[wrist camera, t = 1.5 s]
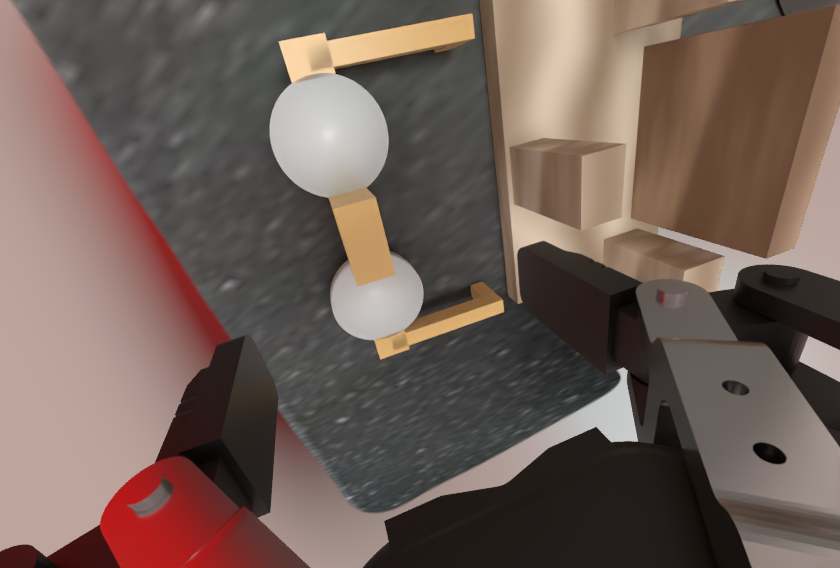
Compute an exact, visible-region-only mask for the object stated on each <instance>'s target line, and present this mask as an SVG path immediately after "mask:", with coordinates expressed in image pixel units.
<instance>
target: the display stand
mask: <svg viewBox="0 0 840 568" xmlns="http://www.w3.org/2000/svg"><path fill="white" fill-rule="evenodd" d="M742 1H745V0H479V4H480V14H481V24H482V35H483V45H484V55H485V65H486V76H487V86H488V96H489V106H490V116H491V127H492V137H493V147H494V157H495V168H496V178H497V188H498V198H499V208H500V219H501V229H502V239H503V249H504V260H505V270H506V280H507V290H508V296H509V297H510V298H511V299H513V300H514V301H515V302H516V303H517V304H520V303H522V300H521V296H520V288H519V275H518V261H517V253H518V250H519V249H520V248H522V247H525V246H528V245H531V244H534V243H537V242H540V241H546V242H548V243H550V244H552V245H554V246H556V247H558V248H560V249H563V250H565V251H569V252H574V253H579V254H582V255H584V256H587V257H589V258H591V259H593V260H594V261H595V262H599V263H602V264H604V265H606V267H610V268H612V269H614V270H616V271H619V272H621V273H623V274H625V275H627V276H629V277H631V278H634V279H636V280H638V281H640V282H642V283H644V282H647V281H651V280H657V279H675V280H682V281H686V282H690V283H693V284H696V285H698V286H700V287H702V288H704V289H705V290H706V291H707V292H715V291H717V289H718V284H719V280H720V275H721V271H722V266H723V261H724V256H722V255H719V254H716V253H713V252H710V251H707V250H703V249H700V248H697V247H694V246H691V245H687V244H685V243H681V242H678V241H675V240H672V239H669V238H666V237H663V236H660V235H657V232H658V227H661V228H665V229H668V230H671V231H675V232H679V233H682V234H685V235H688V236H692V237H695V238H698V239H702V240H706V241H709V242H712V243H715V244H719V245H722V246H725V247H729V248H732V249H736V250H739V251H742V252H746V253H749V254H753V255H756V256H759V257H762V258H769V257H772V256H775V255H777V254H780V253H782V252H785V251H788V250H790V249H793V248H795V246H796V242H797V239H798V236H799V233H800V230H801V226H802V223H803V220H804V217H805V214H806V210H807V207H808V204H809V201H810V197H811V194H812V191H813V188H814V185H815V181H816V178H817V175H818V172H819V169H820V165H821V162H822V159H823V156H824V152H825V149H826V146H827V143H828V140H829V137H830V133H831V130H832V127H833V123H834V120H835V117H836V114H837V110H838V108H839V104H840V4H837V5H832V6H827V7H823V8H818V9H814V10H809V11H804V12H800V13H795V14H791V15H786V16H781V17H777V18H772V19H768V20H763V21H758V22H754V23H749V24H745V25H740V26H735V27H731V28H726V29H722V30H717V31H712V32H708V33H703V34H699V35H694V36H689V37H685V38H680V35H681V26H682V18H683V17H686V16H690V15H694V14H697V13H701V12H705V11H708V10H712V9H716V8H719V7H723V6H727V5H730V4H734V3H738V2H742Z"/></svg>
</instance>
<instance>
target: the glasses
mask: <svg viewBox="0 0 840 568" xmlns="http://www.w3.org/2000/svg"><path fill="white" fill-rule="evenodd" d="M474 38H475V34H474V24H473V15H472V13H471V14H466V15H460V16H455V17H450V18H445V19H439V20H434V21H429V22H424V23H418V24H413V25H408V26H403V27H397V28H392V29H387V30H382V31H376V32H371V33H366V34H361V35H355V36H350V37H345V38H340V39H334V40H329V41H327V40H326V36H325V33H321V34H316V35H310V36H305V37H300V38H294V39H289V40H284V41H279V45H280V48H281V51H282V54H283V57H284V60H285V64H286V67H287V70H288V73H289V76H290V79H291V82H292V84H290V85H289V86H288V87H287V88H286V89H285V90H284V91H283V92H282V94H281V95H280V96H279V98H278V100H277V101H276V103H275V106H274V108H273V111H272V115H271V119H270V141H271V146H272V149H273V153H274V155H275V157H276V160H277V162H278V163H279V165H280V167H281V168H282V170H283V171H284V172H285V174H286V175H287V176H288V177H289V178H290V179H291V180H292V181H293V182H294V183H295V184H297V185H298V186H299V187H301V188H302V189H304V190H306V191H308V192H310V193H312V194H315V195H318V196H322V197H327V198H329V201H330V204H331V207H332V210H333V214H334V217H335V220H336V223H337V226H338V229H339V232H340V235H341V238H342V242H343V245H344V248H345V251H346V254H347V257H348V260H347V261H346V262H345V263H343V264H342V265H341V267H340V268H339V269H338V270H337V272H336V273H335V276H334V278H333V280H332V283H331V288H330V299H331V305H332V311H333V314H334V317H335V319H336V321H337V322H338V324H339V325H340V326H341V327H342V328H343V329H344V330H345V331H346V332H348V333H349V334H351V335H353V336H355V337H358V338H361V339H366V340H374V341H375V344H376V347H377V350H378V353H379V356H380V359H383V358H386V357H389V356H392V355H394V354H397V353H400V352H403V351H406V350H409V345H412V344H414V343H417V342H420V341H423V340H426V339H429V338H431V337H434V336H437V335H440V334H443V333H446V332H449V331H451V330H454V329H457V328H460V327H463V326H466V325H468V324H471V323H474V322H477V321H480V320H483V319H485V318H488V317H491V316H494V315H497V314H500V313H503V312H504V306H503V299H501V298H500V297H499V296H498V295H497V294H496V293H495V292H494V291H492V290H491V289H490V288H489V287H488V286H487V285H486V284H485V283H484V282H482V281H481V282H478V283H475V284H472V285H470V288H471V295H472V297H473V298H474V299H473V300H470V301H467V302H464V303H462V304H459V305H456V306H453V307H450V308H447V309H444V310H441V311H438V312H435V313H432V314H429V315H426V316H423V317H420V318H417V319H415V318H416V317H417V315H418V313H419V312H420V309H421V307H422V303H423V285H422V282H421V280H420V277H419V276H418V274H417V273H416V271H415V270H414V268H413V267H412V266H411V265H410V263H409V262H408V261H407V260H406V259H404V258H403V257H402V256H400V255H398V254H396V253H394V252H391V251H389V247H388V243H387V239H386V235H385V231H384V228H383V224H382V220H381V216H380V212H379V208H378V204H377V201H376V197H375V196H374V195H373V194H372V193H371V192H370V191H369V190H368V189H367V188H366V187H368V186H369V185H370V184H371V183H372V182H373V181H374V180H375V179H376V178H377V176H378V175H379V173H380V172H381V170H382V168H383V166H384V164H385V161H386V158H387V153H388V145H389V137H388V129H387V124H386V121H385V118H384V115H383V113H382V111H381V109H380V107H379V105H378V104H377V102H376V101H375V100H374V98H373V97H372V96H371V95H370V94H369V93H368V91H367V90H365V89H364V88H363V87H362V86H361V85H359V84H358V83H356V82H354V81H353V80H351V79H349V78H346V77H344V76H341V75H337V74H336V73H335V70H336V69H340V68H345V67H350V66H355V65H360V64H365V63H370V62H375V61H379V60H384V59H389V58H394V57H399V56H404V55H409V54H414V53H418V52H423V51H428V50H433V49H434V53H437V52H442V51H447V50H451V49H453V48H456V47H458V46H460V45H462V44H464V43H466V42H468V41H470V40H472V39H474Z"/></svg>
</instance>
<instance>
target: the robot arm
mask: <svg viewBox="0 0 840 568" xmlns="http://www.w3.org/2000/svg"><path fill="white" fill-rule="evenodd" d="M779 2H780V5H781V7H782V10H783V12H784V14H785V15H791V14H795V13H800V12H804V11H809V10H814V9H818V8H823V7H827V6H832V5H837V4H840V0H779ZM517 261H518V275H519V288H520V296H521V300H522V302H523V304H524V306H525V308H526V309H527V310H528V311H529V312H530V313H531V314H532V315H533V316H535V317H536V318H537V319H538V320H539V321H541V322H542V323H543V324H544V325H546V326H547V327H548V328H549V329H550V330H552V331H553V332H554V333H555V334H557V335H558V336H559V337H560V338H561V339H563V340H564V341H565V342H566V343H567V344H569V345H570V346H571V347H572V348H574V349H575V350H576V351H577V352H578V353H580V354H581V355H582V356H583V357H584V358H586V359H587V360H588V361H589V362H591V363H592V364H593V365H594V366H595V367H597V368H598V369H599V370H600V371H602V372H603V373H604V374H605V375H606V374H608V373H611V372H613V371H616V370H618V369H620V368H623V367H624V368H625V369H627V370H628V374H627V384H628V390H629V395H630V400H631V406H632V411H633V416H634V422H635V427H636V432H637V438H638V442H631V441H626V442H610V441H609V440H608V439H607V438H606V437H605V436H604V435H603V434H602V433H601V432H600V431H599V429H598V428H597V427H595V428H593V429H591V430H588V431H586V432H584V433H582V434H579V435H577V436H575V437H573V438H570V439H568V440H566V441H564V442H561V443H559V444H557V445H555V446H552V447H550V448H548V449H547V450H546V451H545V452H544V453H542V454H541V455H540V456H539V457H538V458H536V459H535V460H534V461H533V462H532V463H531V464H530V465H528V466H527V467H526V468H525V469H524V470H522V471H521V472H520V473H519V474H518V475H517V476H515V477H514V478H513V479H512V480H511V481H509V482H508V483H506V484H504V485H502V486H498V487H493V488H486V489H480V490H475V491H468V492H462V493H456V494H450V495H444V496H440V497H438V498H436V499H433V500H431V501H429V502H426V503H424V504H422V505H420V506H417V507H415V508H413V509H411V510H408V511H406V512H404V513H402V514H399V515H397V516H395V517H393V518H390V519H388V520H386V521H385V526H386V531H387V535H388V540H389V542H388V543H387V544H386V545H385V546H384V547H382V548H381V549H380V550H379V551H378V552H377V553H376V554H375V555H374V556H373V557H372V558H371V559H370V560H369V561H368V562H367V563H366V564H365V566H364V567H363V568H840V382H838V381H836V380H834V379H832V378H831V377H829V376H827V375H825V374H823V373H821V372H819V371H817V370H815V369H813V368H811V367H809V366H807V365H805V364H803V363H801V362H799V359H800V356H801V354H802V351H803V349H804V346H805V343H806V341H807V338H808V336H810V337H813V338H815V339H817V340H819V341H821V342H824V343H826V344H828V345H830V346H832V347H835V348H837V349H839V350H840V281H838V280H834V279H832V278H828V277H825V276H822V275H819V274H816V273H812V272H810V271H806V270H803V269H799V268H795V267H790V266H782V265H756V266H750V267H746V268H744V269H742V270H741V271H740V272H739V273H738V277H737V281H736V285H735V289H730V290H722V291H715V292H707V291H706V290H705V289H704V288H702V287H700V286H698V285H696V284H693V283H690V282H686V281H682V280H675V279H657V280H651V281H647V282H644V283H642V282H640V281H638V280H636V279H634V278H631V277H629V276H627V275H625V274H623V273H621V272H619V271H616V270H614V269H612V268H610V267H606V265H604V264H602V263H599V262H595V261H594V260H593V259H591V258H589V257H587V256H584V255H582V254H579V253H574V252H569V251H565V250H563V249H560V248H558V247H556V246H554V245H552V244H550V243H548V242H546V241H540V242H537V243H534V244H531V245H528V246H525V247H522V248H520V249H519V250H518V253H517ZM277 407H278V395H277V390H276V386H275V383H274V380H273V378H272V376H271V374H270V372H269V370H268V368H267V366H266V364H265V362H264V360H263V358H262V356H261V355H260V353H259V351H258V349H257V347H256V345H255V343H254V341H253V339H252V338H251V337H250V336H248V335H246V336H243V337H240V338H237V339H233V340H230V341H228V342H224V343H221V344H218V345H217V346H216V349H215V352H214V354H213V357H212V360H211V363H210V366H209V367H208V368H205V369H202V370H200V372H199V373H198V374H197V375H196V376H195V377H194V378H193V379H192V381H191V382H190V383H189V384H188V385H187V388H186V389H185V392H184V394H183V397H182V399H181V404H179V406H178V409H177V411H176V414H175V415H176V417H175V418H173V421H172V423H171V425H170V428H169V430H168V433H167V435H166V437H165V440H164V442H163V445H162V447H161V449H160V452H159V454H158V457H157V459H156V461H155V463H154V464H152V465H150V466H148V467H147V468H145V469H143V470H142V471H140V472H139V473H138V474H136V475H135V476H134V477H132V478H131V479H130V480H129V481H128V482H126V483H125V484H124V485H123V486H122V487H121V488H120V489H119V490H118V492H117V493H116V494H115V495H114V496H113V498H112V499H111V500H110V502H109V503H108V505H107V506H106V508H105V510H104V512H103V515H102V517H101V521H100V525H98V526H97V527H95V528H94V529H92V530H91V531H89V532H87V533H85V534H84V535H82V536H80V537H79V538H77V539H76V540H74V541H72V542H71V543H69V544H67V545H66V546H64V547H63V548H61V549H59V550H58V551H56V552H54V553H53V554H51V555H50V556H48V557H46V556H44V555H43V554H42V553H40V552H39V551H38V550H37V549H35V548H34V547H33V546H30V545H17V546H13V547H10V548H8V549H5V550H3V551H1V552H0V568H310V567H309V566H308V565H307V564H306V563H305V562H304V561H303V560H302V559H300V558H299V557H298V556H297V555H296V554H295V553H294V552H293V551H292V550H291V549H290V548H289V547H288V546H286V544H285V543H284V542H282V541H281V540H280V539H279V538H278V537H277V536H276V535H275V534H274V533H273V532H272V531H271V530H270V529H269V528H268V527H267V526H266V525H265V524H263V523H262V522H261V521H260V520H259V519H258V517H260V516H262V515H265V514H267V513H270V507H271V493H272V479H273V464H274V450H275V435H276V421H277Z"/></svg>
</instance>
